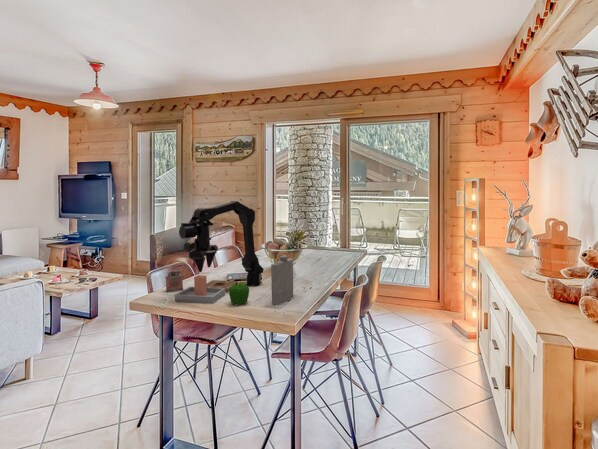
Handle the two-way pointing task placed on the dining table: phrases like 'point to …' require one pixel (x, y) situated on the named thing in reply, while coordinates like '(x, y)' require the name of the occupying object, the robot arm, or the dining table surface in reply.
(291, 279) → the hip flask
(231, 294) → the bell pepper
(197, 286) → the brown tall block
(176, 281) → the lighter
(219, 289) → the tray
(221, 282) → the socket block
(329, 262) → the dining table surface
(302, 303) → the dining table surface
